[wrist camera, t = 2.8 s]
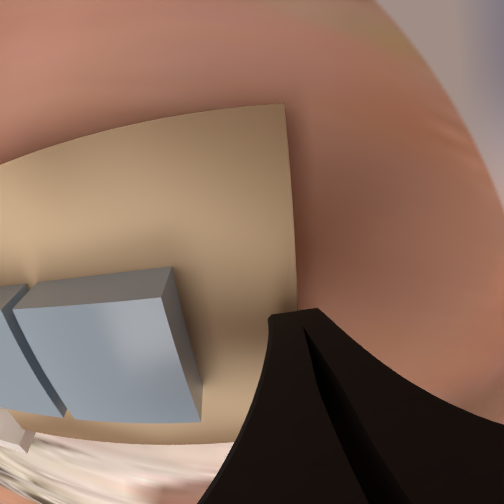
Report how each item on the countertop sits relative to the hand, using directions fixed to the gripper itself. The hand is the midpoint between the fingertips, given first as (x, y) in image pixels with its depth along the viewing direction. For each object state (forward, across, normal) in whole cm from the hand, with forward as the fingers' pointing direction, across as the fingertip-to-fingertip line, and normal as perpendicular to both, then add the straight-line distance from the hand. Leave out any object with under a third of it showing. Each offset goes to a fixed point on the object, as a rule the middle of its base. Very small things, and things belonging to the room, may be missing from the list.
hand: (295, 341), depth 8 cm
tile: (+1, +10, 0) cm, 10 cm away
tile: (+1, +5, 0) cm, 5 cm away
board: (+3, +7, 0) cm, 7 cm away
